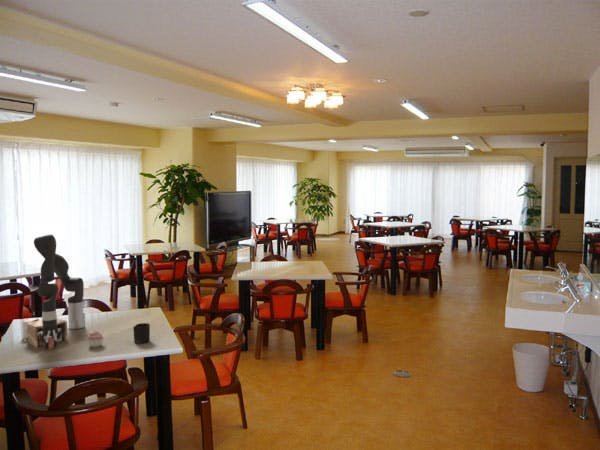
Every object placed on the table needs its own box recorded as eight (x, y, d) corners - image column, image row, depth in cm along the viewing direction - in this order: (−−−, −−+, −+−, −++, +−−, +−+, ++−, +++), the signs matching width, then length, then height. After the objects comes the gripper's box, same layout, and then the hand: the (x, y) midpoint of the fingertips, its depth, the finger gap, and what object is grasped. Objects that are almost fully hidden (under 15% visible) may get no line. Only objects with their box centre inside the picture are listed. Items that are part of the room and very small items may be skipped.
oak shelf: (58, 336, 328) (57, 317, 327) (67, 340, 318) (66, 321, 317) (27, 342, 315) (26, 322, 314) (36, 347, 306) (35, 327, 305)
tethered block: (44, 342, 316) (44, 330, 315) (56, 348, 303) (56, 336, 302) (36, 344, 312) (35, 332, 312) (47, 350, 299) (47, 338, 299)
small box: (30, 338, 324) (30, 321, 323) (22, 338, 325) (22, 321, 324) (39, 335, 331) (38, 318, 331) (31, 334, 333) (31, 318, 332)
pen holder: (131, 341, 316) (130, 325, 315) (146, 338, 322) (145, 322, 321) (137, 345, 308) (137, 328, 308) (152, 341, 314) (152, 325, 314)
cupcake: (91, 343, 312) (90, 327, 311) (106, 343, 312) (106, 327, 311) (84, 348, 303) (83, 331, 302) (100, 348, 302) (99, 331, 302)
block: (58, 339, 322) (58, 331, 322) (61, 340, 319) (61, 332, 318) (50, 340, 319) (49, 332, 318) (53, 342, 315) (52, 334, 315)
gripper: (59, 315, 309) (60, 343, 310) (34, 319, 299) (35, 349, 300) (64, 317, 303) (66, 346, 305) (38, 321, 293) (40, 352, 295)
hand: (50, 347), depth 302 cm, fingers closed on tethered block, 3 cm apart
